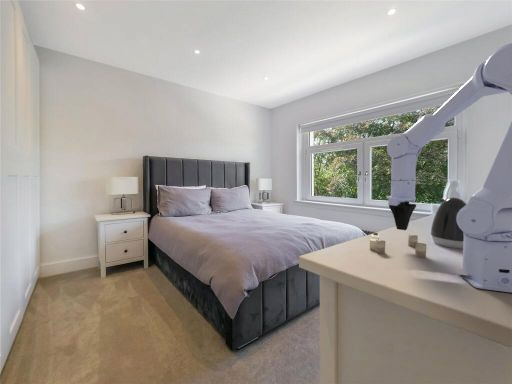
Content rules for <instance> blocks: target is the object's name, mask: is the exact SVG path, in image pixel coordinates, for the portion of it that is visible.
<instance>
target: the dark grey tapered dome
mask: <svg viewBox="0 0 512 384" xmlns="http://www.w3.org/2000/svg"><path fill="white" fill-rule="evenodd" d="M439 201H440V203H441V204H440V205H439V207H438V208H437V210H436V213H435V215H434V218H433V220H432V224H431V229H430V236H431V237H432V241H433V242H434V243H435V244H436V245H438V246H442V247H446V248H452V249H462V250H463V242H464V235H463V231H462V230H461V229H460V228H459V226H458V224H457V220H456V217H457V214H458V212H459V210H460V209H462V208H463V207H464V206H466V205H467V203H466V202H465V201H464V200H463V199H461V198H459V197H449V198H446V199H444V198H441V199H439Z"/></svg>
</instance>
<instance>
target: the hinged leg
mask: <svg viewBox="0 0 512 384" xmlns="http://www.w3.org/2000/svg"><path fill="white" fill-rule="evenodd" d="M376 240H380V234H379V233H378V232H373V233H372V234H371V236H370V239H369V250H371V251H373V250H374V251H376Z"/></svg>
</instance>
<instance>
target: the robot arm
mask: <svg viewBox="0 0 512 384" xmlns="http://www.w3.org/2000/svg"><path fill="white" fill-rule="evenodd" d="M504 93H509V94H510V95H511V96H512V42H511V43H508V44H505V45H503V46H501V47H499V48H497V49H496V50H494V52H492V53H491V54H490V55H489V57H488V58H487V59H486V60H484V61H483V62H481V63H480V64H479V65H478V66H477V67H476V69H475V70H474V72H473V74H472V76H471V77H470V78H469V79H468V80H467V82H465V83H464V84H462V86H461V87H460V88H459V89H458V90H457V91H456V92H454V94H453V95H452V96H450V98H448V100H446V101H445V102H444V103H443V104H442V105H441V106H440V107H439V108H438V109H436V111H435V112H434V113H430V114H429V113H427V114H424V115H423V116H422V115H421V116H419V117H418V118H417V122H415V123H414V124H413V125H412V126H410V128H409V129H408V130H405V131H404V132H403V133H401V134H400V135H395V136H392V137H391V138H390V140H389V142H388V143H387V146H386V153H387V155H388V156H389V157H390V158H391V159H390V160H391V162H390V168H391V172H390V195H386V199H388V201H387V205H388V207H389V209H390V212H391V213H392V216H393V219H394V223H395V228H396V230H400V231H406V230H408V227H409V223H410V219H411V217H412V215H413V212H414V211H415V209H416V207H417V204H416V203H415V202H416V199H417V197H416V173H417V171H416V170H417V162H418V158H419V156H420V155H421V152H422V151H423V148H424V147H425V146H426V145H427V144H428V143H430V142H431V141H433V140H434V139H435V138H436V137H437V136H440V135H441V134H442V133H443V132H444V131H445V128H446V124H447V123H448V122H449V121H451V120H453V118H455V117H456V116H458V115H460V114H461V113H462V112H464V111H465V110H467V109H469V108H470V107H471V106H472V105H474V104H475V103H476V102H478V101H480V99H482V98H485V97H487V96H493V95H498V94H499V95H500V94H504ZM466 204H467V205H466V206H464V207H463V208H462V209H460V210H459V212H458V214H457V217H456V220H457V224H458V226H459V228H460V229H461V230H462V231H463V235H464V242H463V249H462V262H461V263H462V266H461V270H462V272H463V273H465V274H458V275H459V276H460V277H461V278H462V279H464V280H465V281H466V282H467V283H469V284H470V285H472V286H473V288H475V289H481V290H489V291H498V292H505V293H511V294H512V121H511V122H510V124H509V126H508V130H507V131H506V134H505V136H504V138H503V141H502V142H501V145H500V147H499V149H498V152H497V154H496V156H495V159H494V161H493V163H492V165H491V167H490V170H489V172H488V175H487V177H486V179H485V181H484V183H483V186H482V187H481V188H480V189H479V190H477V191H476V192H475V193H474V194H472V195H471V196H470V198H469V200H468V202H467V203H466Z"/></svg>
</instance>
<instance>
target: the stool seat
mask: <svg viewBox="0 0 512 384" xmlns="http://www.w3.org/2000/svg"><path fill="white" fill-rule="evenodd" d="M407 237H408V239H407V240H408V241H407V247H410V248H415V251H414V252H415V253H414V255H415V257H417V258H422V259H425V258H427V244H426V243H423V242H419V241H418V240H419V238H418V237H419V236H418V235H417V234H408V236H407ZM374 251H375V253H376V254H380V255H384V254H386V240H384V239H379V240H376V250H374Z"/></svg>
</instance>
